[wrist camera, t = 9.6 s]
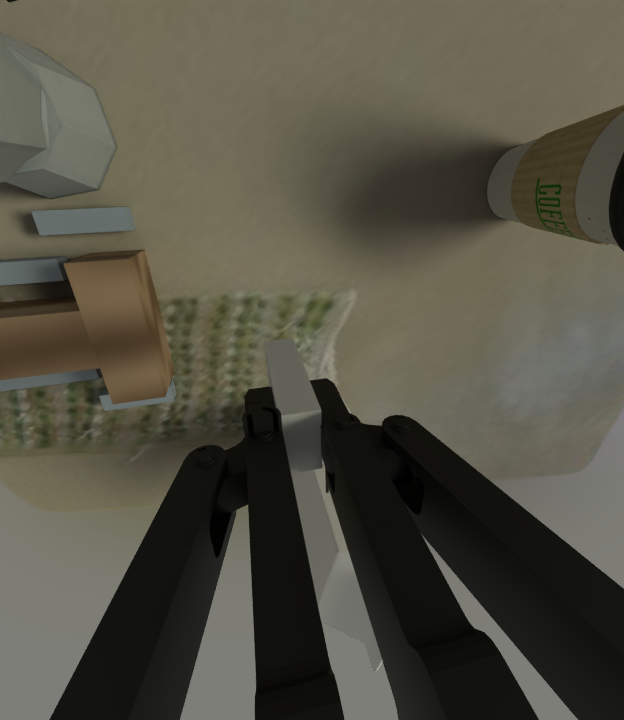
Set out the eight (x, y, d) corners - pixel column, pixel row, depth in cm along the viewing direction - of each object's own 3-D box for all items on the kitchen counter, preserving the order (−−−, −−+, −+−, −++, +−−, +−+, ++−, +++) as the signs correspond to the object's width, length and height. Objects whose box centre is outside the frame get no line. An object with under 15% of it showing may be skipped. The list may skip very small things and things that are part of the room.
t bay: (-106, 217, 23) (-127, 218, 22) (129, 206, 26) (123, 206, 24) (0, 416, 30) (-11, 427, 29) (176, 392, 33) (173, 401, 32)
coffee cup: (468, 249, 33) (625, 280, 20) (470, 132, 29) (674, 72, 16) (555, 226, 34) (761, 242, 21) (570, 110, 30) (843, 36, 17)
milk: (339, 392, 37) (462, 601, 18) (326, 437, 39) (422, 666, 20) (286, 387, 35) (357, 612, 16) (275, 434, 38) (326, 683, 18)
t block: (-26, 261, 25) (-81, 273, 21) (144, 249, 27) (128, 259, 23) (33, 388, 30) (-2, 420, 26) (174, 370, 32) (165, 396, 28)
